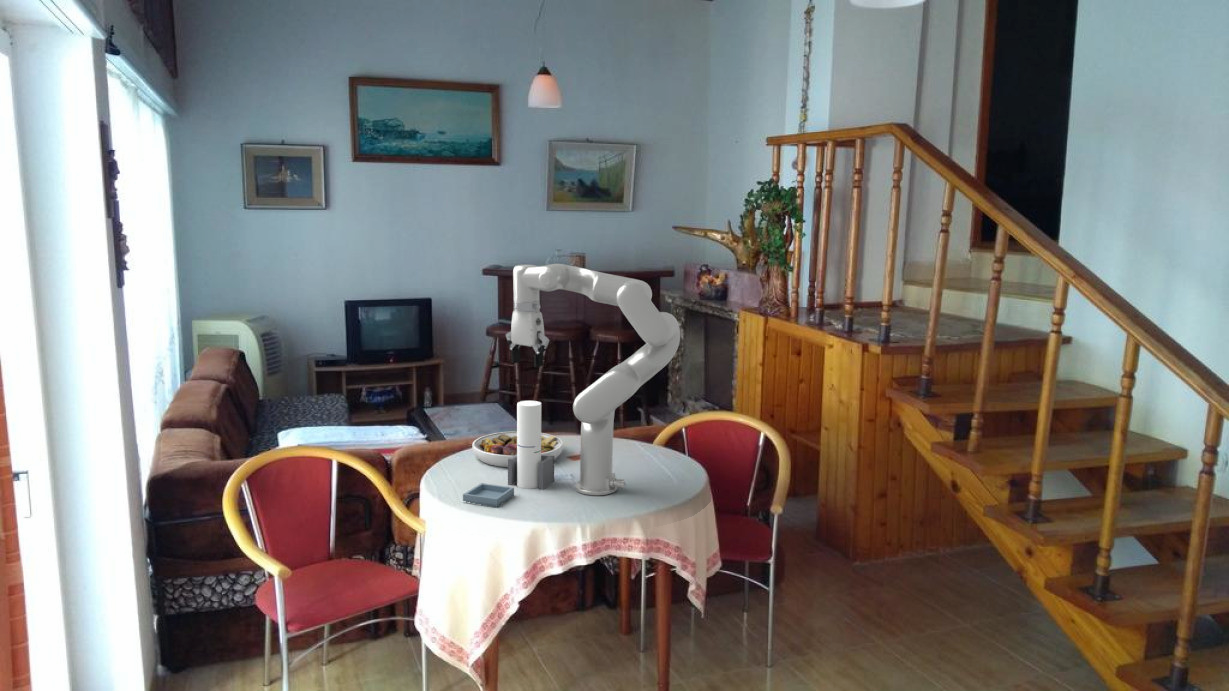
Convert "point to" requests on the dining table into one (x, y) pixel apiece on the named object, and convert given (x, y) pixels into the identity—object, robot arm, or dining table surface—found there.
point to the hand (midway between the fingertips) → (527, 364)
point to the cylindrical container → (528, 443)
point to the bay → (544, 470)
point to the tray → (488, 495)
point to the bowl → (510, 447)
